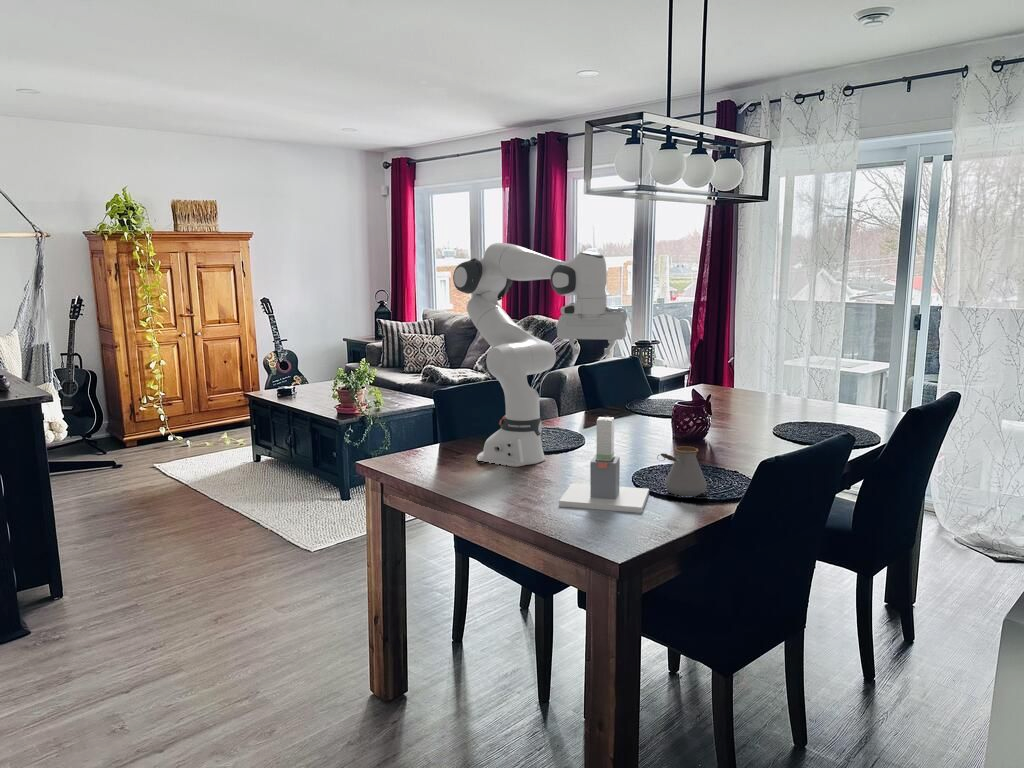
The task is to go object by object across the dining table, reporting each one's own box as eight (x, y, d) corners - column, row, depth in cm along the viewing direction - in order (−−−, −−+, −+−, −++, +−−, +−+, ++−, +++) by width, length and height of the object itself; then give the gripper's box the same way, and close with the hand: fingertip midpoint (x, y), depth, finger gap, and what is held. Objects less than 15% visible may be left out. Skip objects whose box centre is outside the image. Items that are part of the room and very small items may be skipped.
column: (596, 477, 198) (596, 420, 195) (599, 473, 202) (599, 416, 199) (611, 478, 197) (611, 420, 194) (613, 474, 201) (614, 417, 198)
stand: (559, 506, 196) (558, 464, 194) (571, 488, 211) (571, 449, 209) (641, 513, 190) (642, 470, 188) (648, 493, 205) (649, 454, 203)
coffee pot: (675, 484, 213) (676, 434, 210) (713, 492, 206) (714, 440, 203) (640, 505, 196) (640, 450, 194) (679, 513, 189) (681, 457, 186)
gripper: (628, 306, 215) (628, 353, 217) (560, 306, 221) (560, 352, 223) (625, 308, 209) (624, 356, 211) (555, 308, 215) (555, 355, 217)
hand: (591, 354), depth 217 cm, fingers open, 8 cm apart
